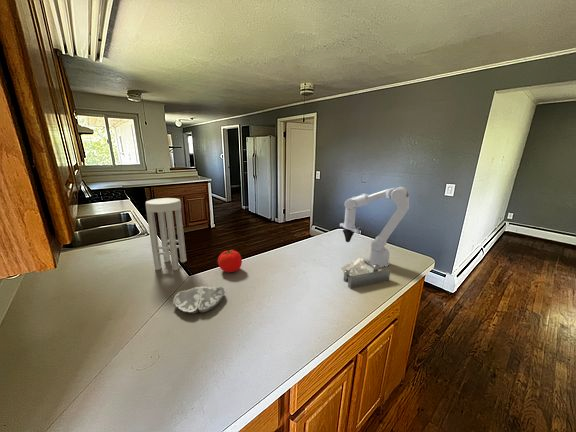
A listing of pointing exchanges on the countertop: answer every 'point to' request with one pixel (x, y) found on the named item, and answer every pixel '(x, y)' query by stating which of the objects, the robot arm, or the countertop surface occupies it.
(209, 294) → the brain slice
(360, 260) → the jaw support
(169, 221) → the stool
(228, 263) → the tomato
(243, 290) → the countertop surface
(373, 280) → the housing bracket
